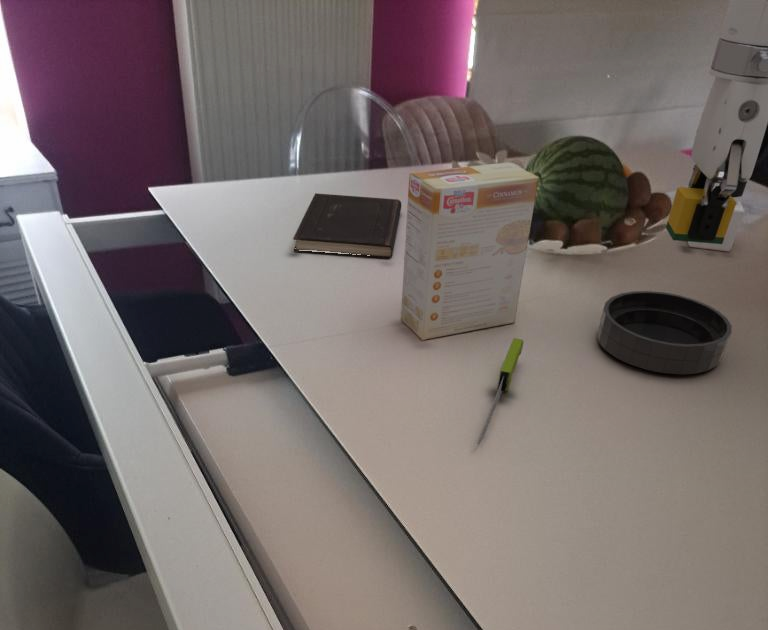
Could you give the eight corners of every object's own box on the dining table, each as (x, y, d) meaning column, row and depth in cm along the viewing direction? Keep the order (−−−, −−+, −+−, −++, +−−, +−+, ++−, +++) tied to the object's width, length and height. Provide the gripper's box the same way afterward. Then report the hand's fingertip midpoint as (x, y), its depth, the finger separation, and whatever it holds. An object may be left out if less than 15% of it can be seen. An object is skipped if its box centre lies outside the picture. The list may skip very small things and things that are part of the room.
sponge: (713, 231, 94) (727, 190, 91) (722, 244, 90) (736, 202, 87) (665, 227, 94) (677, 186, 91) (672, 240, 91) (685, 197, 87)
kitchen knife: (480, 464, 79) (483, 443, 77) (469, 462, 79) (472, 440, 77) (520, 357, 94) (524, 336, 92) (511, 355, 95) (514, 334, 92)
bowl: (703, 326, 105) (714, 296, 102) (734, 383, 93) (747, 351, 90) (589, 316, 106) (596, 286, 103) (604, 372, 94) (613, 340, 91)
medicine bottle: (725, 238, 134) (749, 168, 126) (730, 252, 128) (756, 179, 121) (684, 233, 135) (706, 163, 127) (688, 247, 129) (710, 175, 122)
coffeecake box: (489, 303, 108) (510, 160, 95) (516, 324, 103) (542, 176, 90) (398, 319, 103) (407, 170, 90) (421, 341, 98) (435, 187, 85)
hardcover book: (293, 251, 119) (293, 237, 118) (315, 206, 137) (315, 193, 136) (392, 259, 119) (392, 245, 117) (401, 212, 137) (401, 199, 135)
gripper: (811, 79, 73) (744, 259, 85) (761, 52, 86) (709, 212, 98) (735, 73, 74) (679, 254, 85) (696, 47, 87) (652, 207, 98)
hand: (695, 230), depth 92 cm, fingers closed on sponge, 4 cm apart
